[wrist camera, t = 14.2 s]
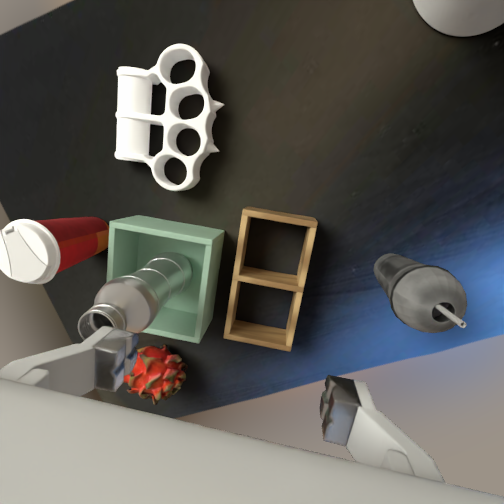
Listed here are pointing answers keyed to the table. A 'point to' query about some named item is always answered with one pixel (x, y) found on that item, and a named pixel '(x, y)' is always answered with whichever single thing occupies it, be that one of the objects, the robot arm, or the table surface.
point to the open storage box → (180, 241)
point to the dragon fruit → (156, 374)
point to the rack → (268, 283)
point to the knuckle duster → (164, 115)
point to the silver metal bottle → (138, 295)
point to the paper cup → (49, 246)
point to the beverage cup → (421, 293)
